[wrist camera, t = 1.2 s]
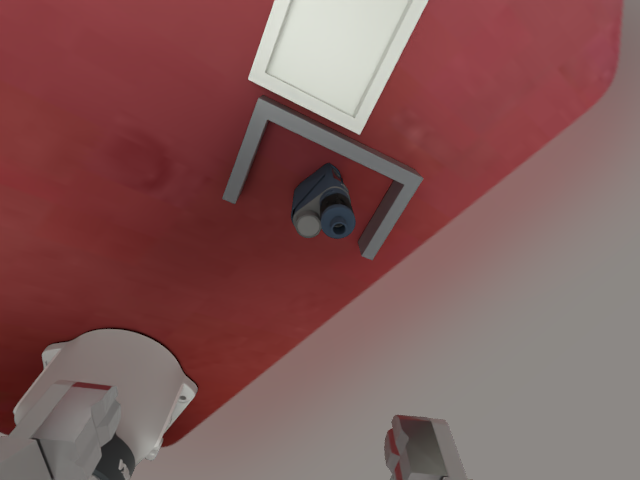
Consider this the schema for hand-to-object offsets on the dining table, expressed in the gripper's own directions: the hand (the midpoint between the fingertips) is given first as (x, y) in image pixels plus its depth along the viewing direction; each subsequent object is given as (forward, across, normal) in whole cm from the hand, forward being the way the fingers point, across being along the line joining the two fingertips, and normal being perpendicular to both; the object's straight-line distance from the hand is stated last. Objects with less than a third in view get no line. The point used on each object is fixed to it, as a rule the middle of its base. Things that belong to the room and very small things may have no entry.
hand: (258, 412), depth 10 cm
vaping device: (+25, -2, +1) cm, 25 cm away
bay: (+25, -2, +1) cm, 25 cm away
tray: (+25, -2, -12) cm, 28 cm away
